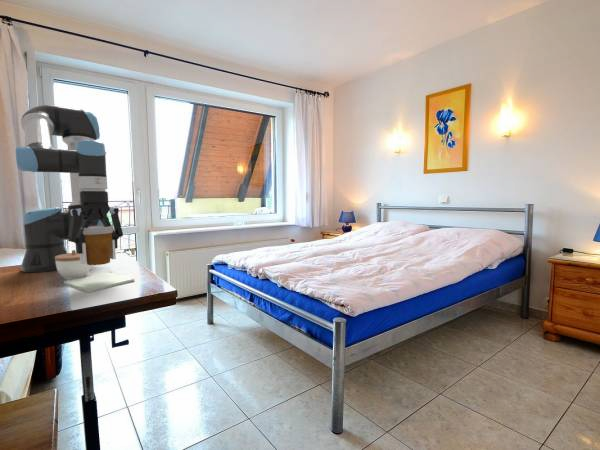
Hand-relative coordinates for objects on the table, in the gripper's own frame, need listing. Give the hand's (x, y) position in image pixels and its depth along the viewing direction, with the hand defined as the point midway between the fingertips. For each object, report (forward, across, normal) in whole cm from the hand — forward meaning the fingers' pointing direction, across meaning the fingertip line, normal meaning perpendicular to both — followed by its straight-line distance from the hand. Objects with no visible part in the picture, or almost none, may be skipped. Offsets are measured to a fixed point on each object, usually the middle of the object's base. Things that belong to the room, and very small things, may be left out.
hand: (98, 260), depth 103 cm
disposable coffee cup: (+1, 0, 0) cm, 1 cm away
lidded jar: (+7, -1, +15) cm, 17 cm away
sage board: (+7, 0, 0) cm, 7 cm away
